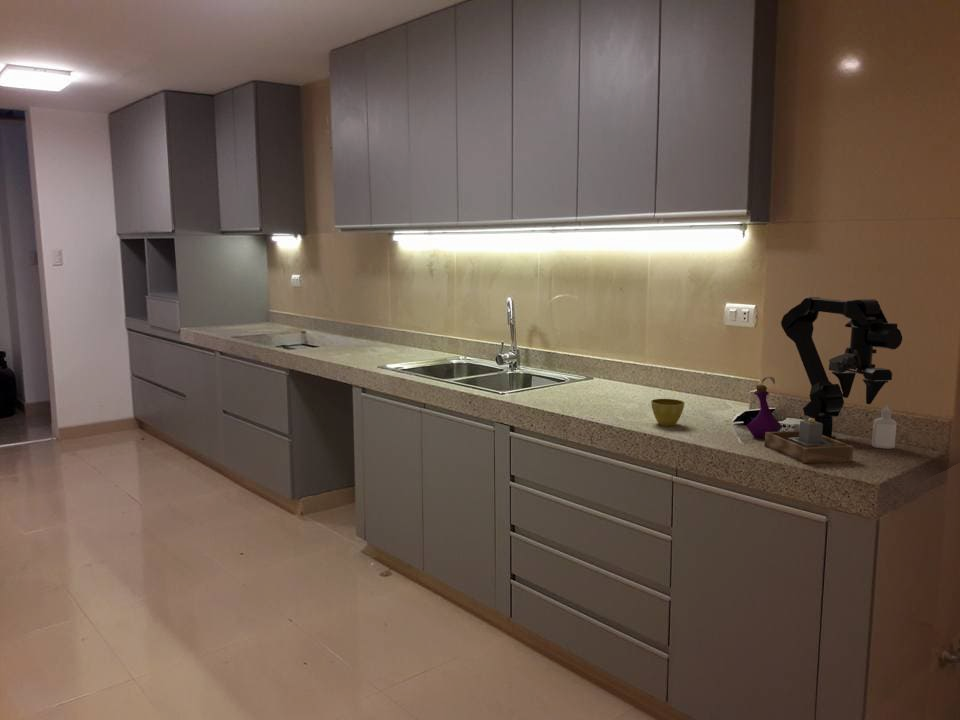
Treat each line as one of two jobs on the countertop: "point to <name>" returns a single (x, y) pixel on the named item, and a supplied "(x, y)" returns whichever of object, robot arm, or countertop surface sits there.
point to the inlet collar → (822, 444)
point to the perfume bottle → (763, 415)
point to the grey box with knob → (810, 431)
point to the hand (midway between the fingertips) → (856, 400)
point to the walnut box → (808, 455)
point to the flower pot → (667, 411)
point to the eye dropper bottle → (884, 430)
